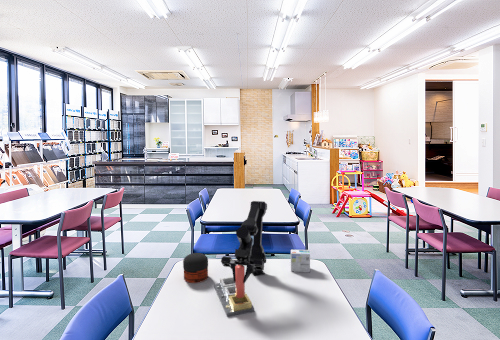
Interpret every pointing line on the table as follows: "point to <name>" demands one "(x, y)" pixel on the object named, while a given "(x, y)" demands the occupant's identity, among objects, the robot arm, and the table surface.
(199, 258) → the oil filter
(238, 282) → the plug
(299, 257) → the light bulb box
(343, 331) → the table surface
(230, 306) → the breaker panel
